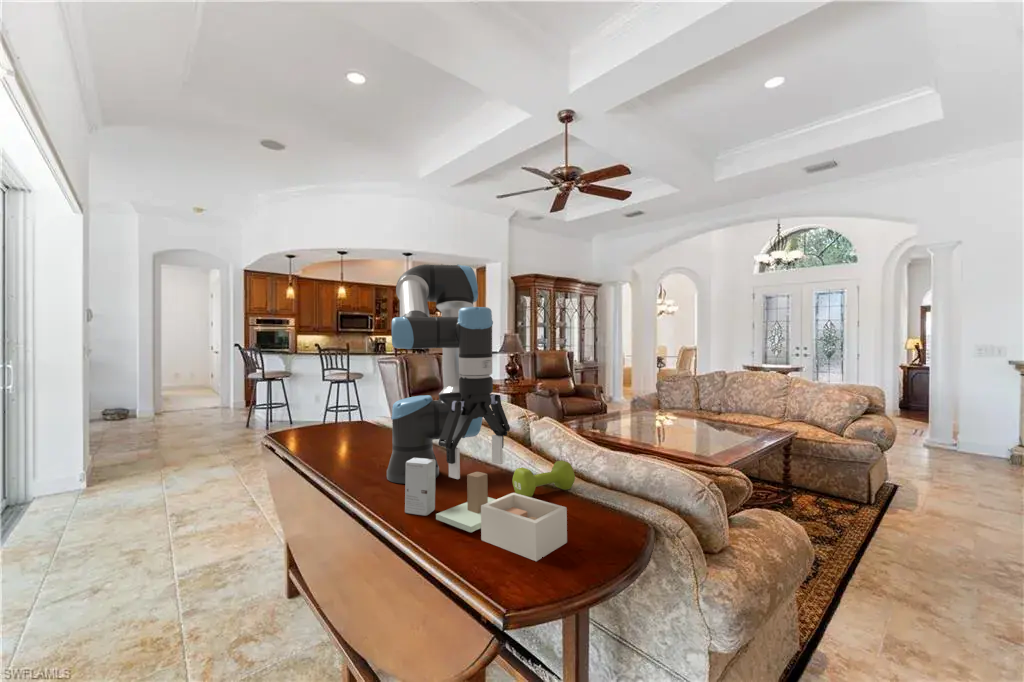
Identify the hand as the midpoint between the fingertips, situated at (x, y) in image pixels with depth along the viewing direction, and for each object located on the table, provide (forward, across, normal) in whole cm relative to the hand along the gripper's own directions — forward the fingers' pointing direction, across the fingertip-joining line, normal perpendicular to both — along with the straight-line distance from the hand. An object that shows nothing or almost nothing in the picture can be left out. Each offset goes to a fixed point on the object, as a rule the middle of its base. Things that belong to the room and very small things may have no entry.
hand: (476, 470), depth 105 cm
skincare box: (+11, -5, +13) cm, 18 cm away
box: (+11, -2, -16) cm, 19 cm away
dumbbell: (+12, +24, -1) cm, 26 cm away
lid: (+11, 0, -1) cm, 11 cm away
